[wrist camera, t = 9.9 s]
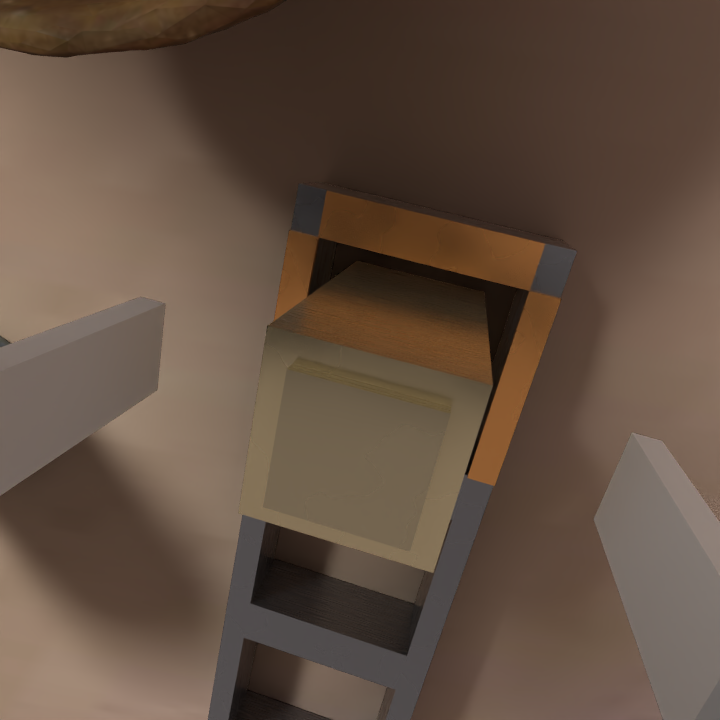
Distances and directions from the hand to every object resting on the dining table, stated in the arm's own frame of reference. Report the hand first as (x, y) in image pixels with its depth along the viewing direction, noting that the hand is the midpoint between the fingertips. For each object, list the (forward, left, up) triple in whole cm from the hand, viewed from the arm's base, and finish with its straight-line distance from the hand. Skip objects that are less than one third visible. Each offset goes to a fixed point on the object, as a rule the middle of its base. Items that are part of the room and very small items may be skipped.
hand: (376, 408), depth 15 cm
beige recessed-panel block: (0, 0, -7) cm, 7 cm away
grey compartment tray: (+9, 0, -7) cm, 12 cm away
